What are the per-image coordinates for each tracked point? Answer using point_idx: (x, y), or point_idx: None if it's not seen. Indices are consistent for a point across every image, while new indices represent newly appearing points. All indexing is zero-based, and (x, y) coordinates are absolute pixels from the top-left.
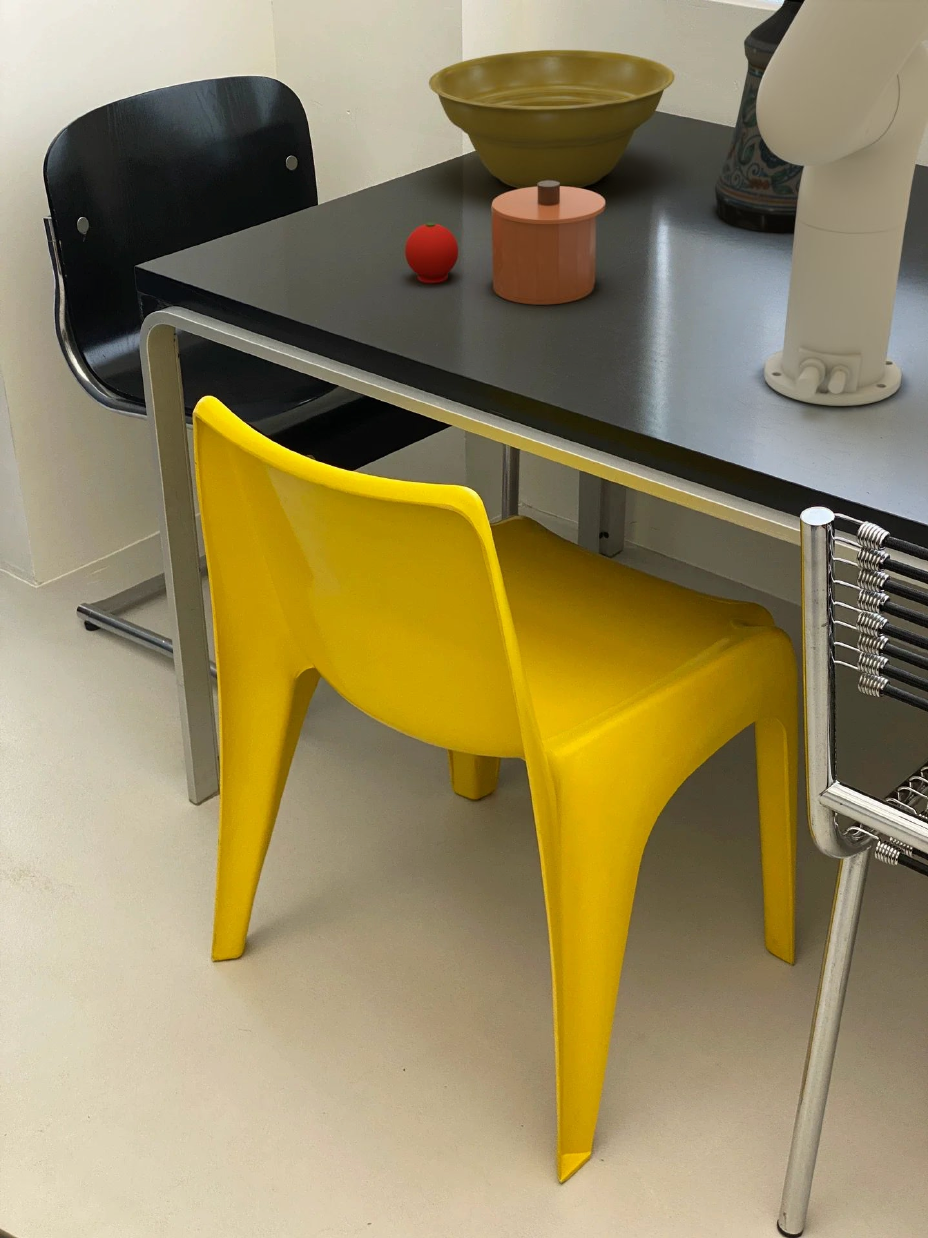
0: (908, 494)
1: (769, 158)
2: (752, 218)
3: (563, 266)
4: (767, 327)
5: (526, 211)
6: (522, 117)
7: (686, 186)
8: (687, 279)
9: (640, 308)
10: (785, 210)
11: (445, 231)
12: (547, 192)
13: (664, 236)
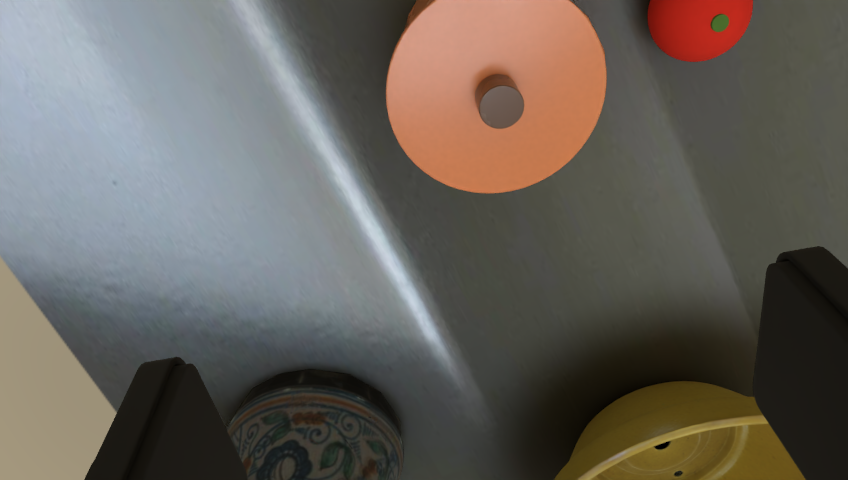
0: None
1: (293, 451)
2: (316, 379)
3: (424, 5)
4: (86, 42)
5: (512, 22)
6: (701, 418)
7: (471, 465)
8: (299, 173)
9: (299, 29)
10: (269, 394)
11: (684, 26)
12: (493, 83)
13: (413, 307)
